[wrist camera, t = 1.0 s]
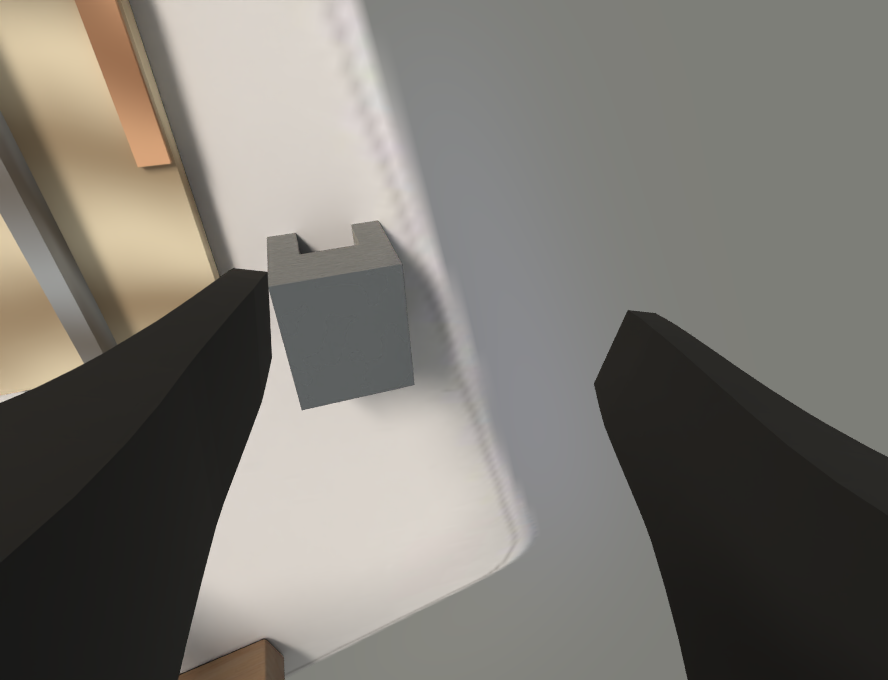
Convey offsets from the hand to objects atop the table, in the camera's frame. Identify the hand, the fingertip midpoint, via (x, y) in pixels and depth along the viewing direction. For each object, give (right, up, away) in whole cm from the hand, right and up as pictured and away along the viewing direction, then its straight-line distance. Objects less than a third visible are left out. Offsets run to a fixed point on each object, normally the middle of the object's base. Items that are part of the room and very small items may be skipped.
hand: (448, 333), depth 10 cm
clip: (-5, +2, +14) cm, 15 cm away
